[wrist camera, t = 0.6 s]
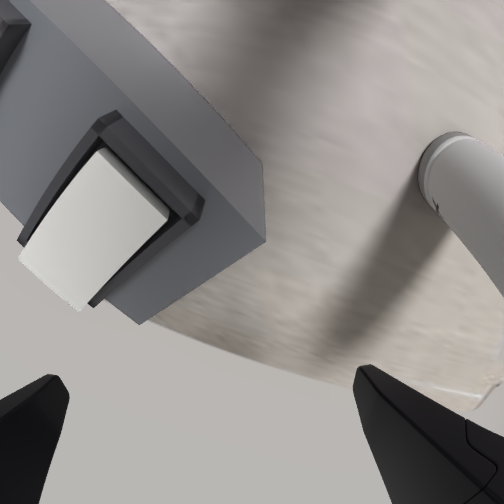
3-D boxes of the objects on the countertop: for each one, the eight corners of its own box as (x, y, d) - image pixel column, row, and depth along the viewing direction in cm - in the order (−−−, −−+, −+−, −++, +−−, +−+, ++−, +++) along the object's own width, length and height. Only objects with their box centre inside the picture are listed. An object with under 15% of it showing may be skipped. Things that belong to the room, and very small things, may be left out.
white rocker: (106, 146, 9) (96, 151, 8) (170, 208, 11) (167, 220, 10) (30, 244, 10) (17, 258, 9) (86, 295, 12) (79, 312, 11)
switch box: (67, -32, 11) (-43, -51, 2) (262, 163, 19) (267, 263, 11) (3, 56, 14) (-105, 89, 5) (174, 231, 22) (132, 346, 14)
